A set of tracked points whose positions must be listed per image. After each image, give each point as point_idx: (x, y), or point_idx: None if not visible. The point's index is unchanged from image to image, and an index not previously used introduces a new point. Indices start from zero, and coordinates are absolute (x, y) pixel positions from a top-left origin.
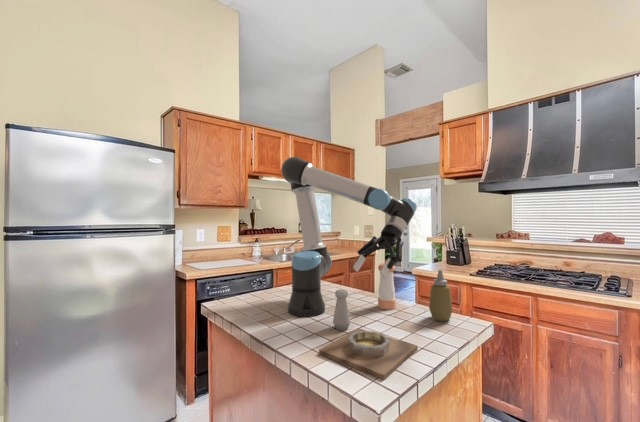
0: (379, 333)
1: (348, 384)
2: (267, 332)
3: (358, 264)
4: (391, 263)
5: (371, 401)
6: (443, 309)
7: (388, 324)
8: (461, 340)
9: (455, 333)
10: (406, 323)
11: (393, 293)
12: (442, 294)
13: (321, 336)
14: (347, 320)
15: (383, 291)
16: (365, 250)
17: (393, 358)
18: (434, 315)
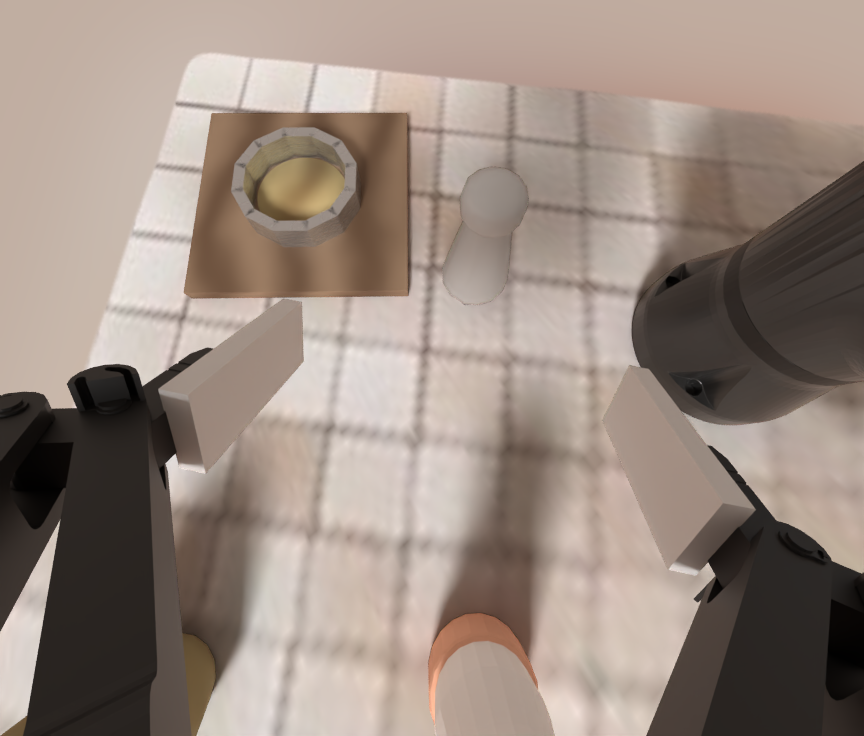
0: (283, 226)
1: (275, 75)
2: (620, 127)
3: (639, 424)
4: (166, 370)
5: (212, 61)
6: None
7: (354, 432)
8: None
9: None
10: (297, 494)
11: (435, 719)
12: (21, 721)
13: None
14: (444, 263)
15: (487, 668)
16: (781, 608)
17: (219, 184)
18: (184, 638)
